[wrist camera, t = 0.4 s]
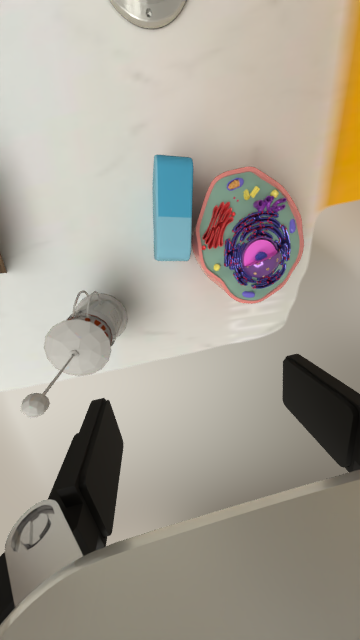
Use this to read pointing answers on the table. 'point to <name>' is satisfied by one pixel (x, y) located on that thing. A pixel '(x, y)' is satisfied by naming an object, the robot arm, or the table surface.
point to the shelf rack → (2, 266)
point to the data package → (172, 207)
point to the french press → (80, 342)
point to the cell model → (248, 235)
